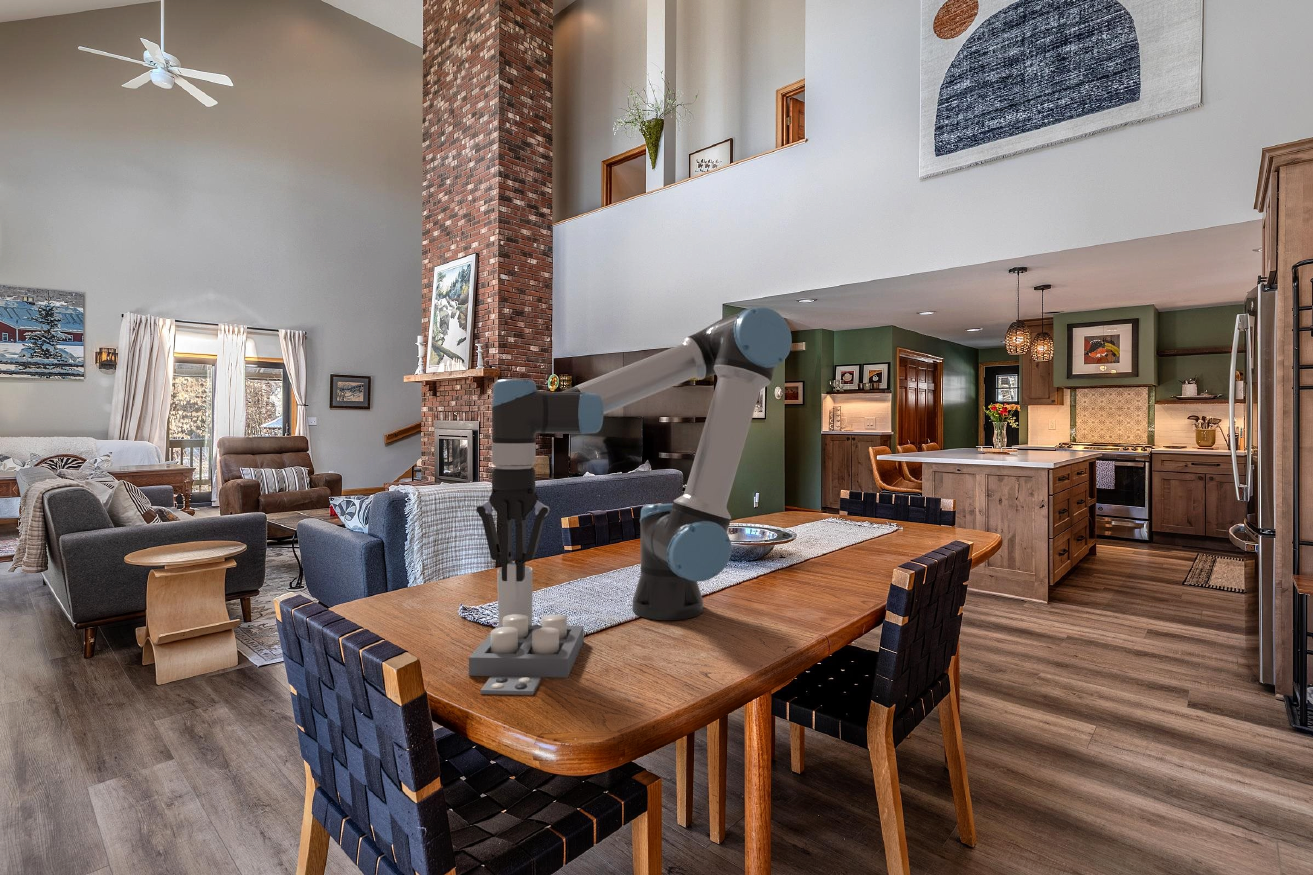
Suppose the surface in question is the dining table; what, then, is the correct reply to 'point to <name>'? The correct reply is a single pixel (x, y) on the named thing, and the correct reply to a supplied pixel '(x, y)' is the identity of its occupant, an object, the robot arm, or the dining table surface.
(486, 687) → the card
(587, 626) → the dining table surface
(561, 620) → the button
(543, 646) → the button
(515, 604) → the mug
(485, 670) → the board
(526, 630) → the button
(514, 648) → the button
